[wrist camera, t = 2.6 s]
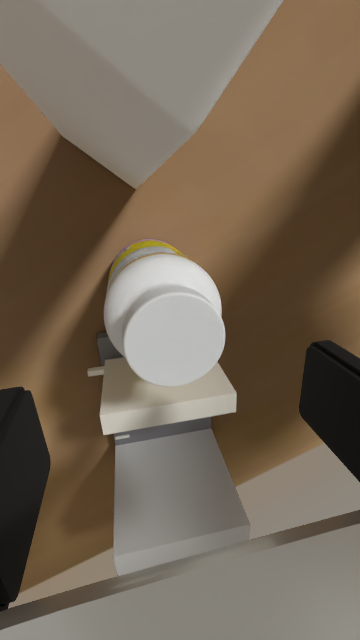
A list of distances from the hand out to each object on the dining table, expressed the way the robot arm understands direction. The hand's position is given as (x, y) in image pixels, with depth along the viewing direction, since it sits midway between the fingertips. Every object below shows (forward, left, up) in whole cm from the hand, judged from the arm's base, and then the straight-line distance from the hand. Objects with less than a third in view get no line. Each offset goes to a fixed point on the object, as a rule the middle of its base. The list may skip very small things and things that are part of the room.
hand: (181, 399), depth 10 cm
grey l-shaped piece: (+12, 0, -16) cm, 20 cm away
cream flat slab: (+7, 0, -14) cm, 16 cm away
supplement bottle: (0, 0, -17) cm, 16 cm away
